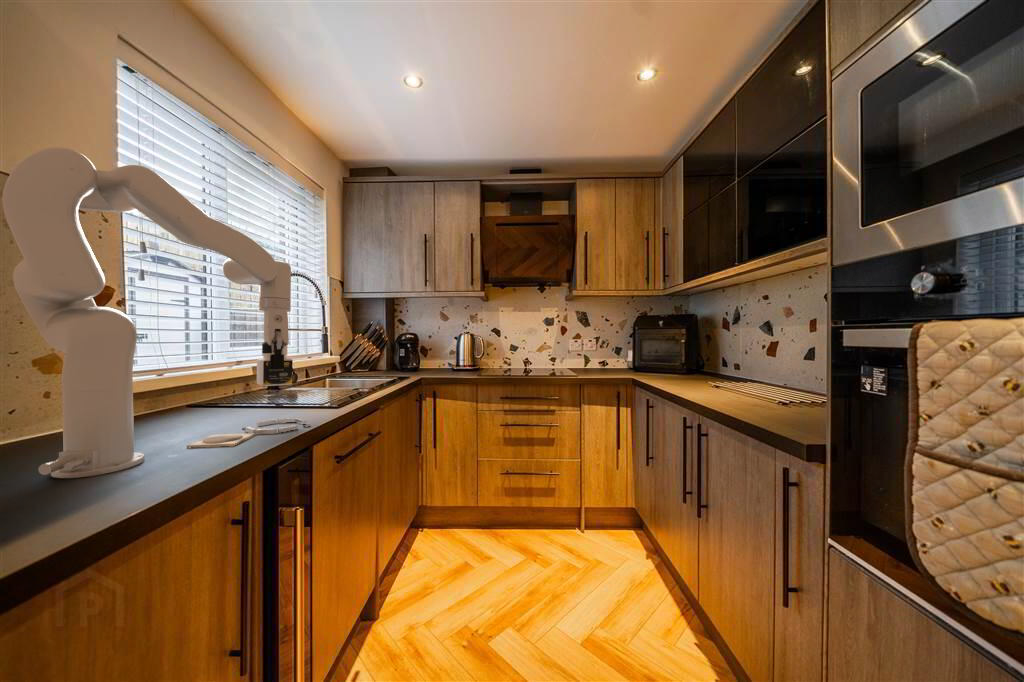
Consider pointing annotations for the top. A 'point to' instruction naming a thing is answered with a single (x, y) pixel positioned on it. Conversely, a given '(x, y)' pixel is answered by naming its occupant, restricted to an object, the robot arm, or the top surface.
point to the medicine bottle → (273, 376)
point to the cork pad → (222, 440)
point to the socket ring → (274, 430)
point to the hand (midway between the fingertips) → (274, 368)
